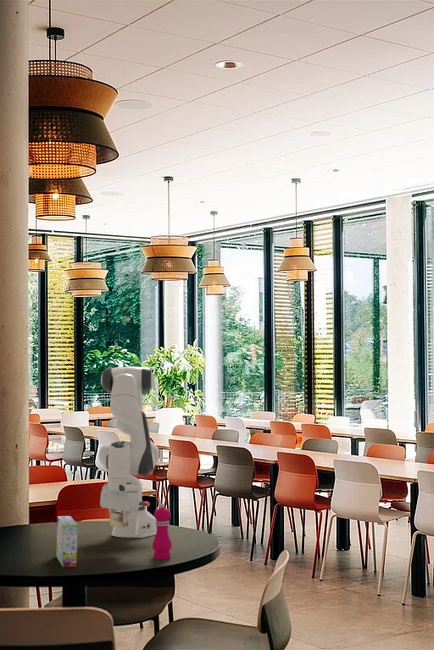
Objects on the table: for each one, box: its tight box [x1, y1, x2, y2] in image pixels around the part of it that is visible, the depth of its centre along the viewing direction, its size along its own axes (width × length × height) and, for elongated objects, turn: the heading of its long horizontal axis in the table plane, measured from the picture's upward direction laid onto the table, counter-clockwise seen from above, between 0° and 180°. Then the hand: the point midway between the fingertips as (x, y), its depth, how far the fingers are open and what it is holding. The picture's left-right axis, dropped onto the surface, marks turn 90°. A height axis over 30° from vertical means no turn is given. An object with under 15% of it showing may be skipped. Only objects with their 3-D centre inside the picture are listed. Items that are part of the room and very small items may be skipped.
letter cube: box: [109, 512, 128, 528], centre depth 347 cm, size 5×5×5 cm
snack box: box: [55, 515, 79, 568], centre depth 331 cm, size 21×6×15 cm, turn 17°
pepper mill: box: [151, 503, 173, 560], centre depth 338 cm, size 7×7×20 cm
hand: (119, 521), depth 347 cm, fingers closed on letter cube, 5 cm apart
